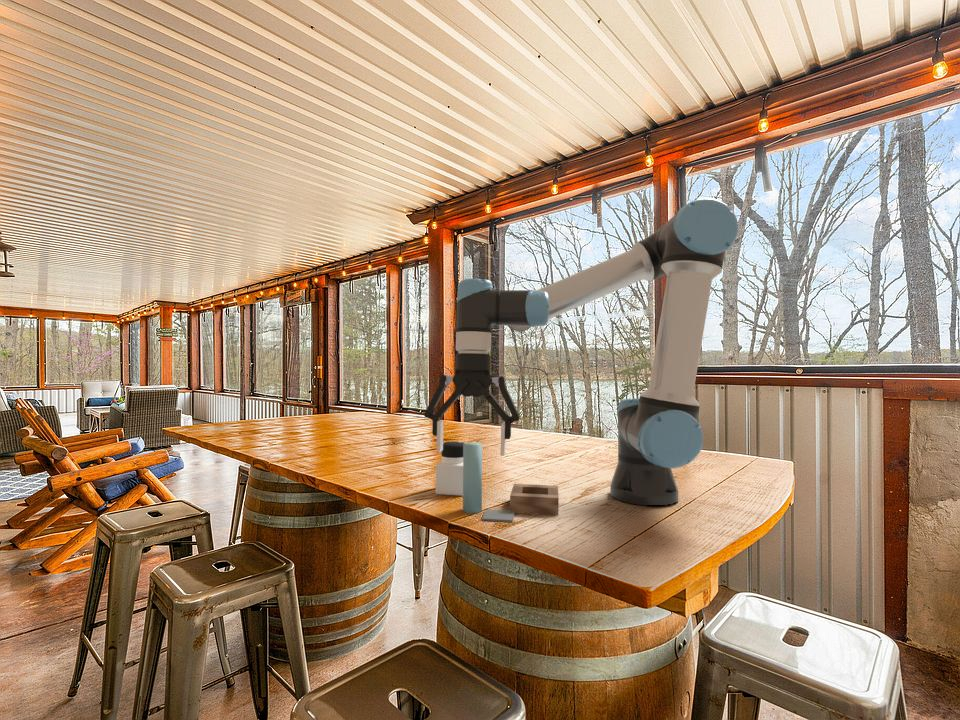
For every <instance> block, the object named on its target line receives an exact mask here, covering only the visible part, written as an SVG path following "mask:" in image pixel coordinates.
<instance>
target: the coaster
mask: <svg viewBox="0 0 960 720" xmlns="http://www.w3.org/2000/svg"><path fill="white" fill-rule="evenodd" d="M515 515H516V513H515V511H510V509H509V510H508V509H507V510H505V509H488V508H486V509H485V511H484V514H483V516H482V518H481V519H482V521H487V522H489V521H490V522H501V523H502V522H503V523H513V522H514V517H515Z"/></svg>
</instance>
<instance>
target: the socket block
mask: <svg viewBox="0 0 960 720" xmlns="http://www.w3.org/2000/svg"><path fill="white" fill-rule="evenodd" d="M559 498H560V497H559V485H549V484H548V485H546V484H530V483H529V484H527V483H525V484H524V483H513V486H512V489H511V493H510V496H509V502H510V503H509V510H510V511H515V514H529V515H530V514H531V515H533V514H534V515H546V516H547V515H550V516H552V515H553V516H559V505H560V502H559Z"/></svg>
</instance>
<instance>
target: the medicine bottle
mask: <svg viewBox="0 0 960 720" xmlns="http://www.w3.org/2000/svg"><path fill="white" fill-rule="evenodd" d="M464 443H465V442H462V441H457V440H455V441H454V440H453V441H452V440H450V441H445V442H443V451H441V461H439V462H438V463H436V465H435V495H444V496H445V495H446V496H460V497H463V444H464Z"/></svg>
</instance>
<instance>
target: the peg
mask: <svg viewBox="0 0 960 720" xmlns="http://www.w3.org/2000/svg"><path fill="white" fill-rule="evenodd" d="M463 443H464V444H463V496H462V512H463V511H464V512H463V513H465V514H479V513H481V512H482V511H483V509H482V508H483V444H482V443H480V442H463Z"/></svg>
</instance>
